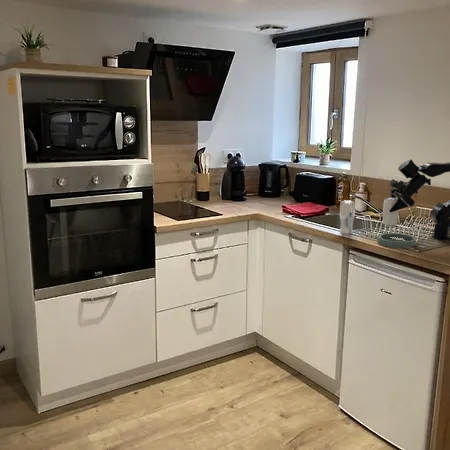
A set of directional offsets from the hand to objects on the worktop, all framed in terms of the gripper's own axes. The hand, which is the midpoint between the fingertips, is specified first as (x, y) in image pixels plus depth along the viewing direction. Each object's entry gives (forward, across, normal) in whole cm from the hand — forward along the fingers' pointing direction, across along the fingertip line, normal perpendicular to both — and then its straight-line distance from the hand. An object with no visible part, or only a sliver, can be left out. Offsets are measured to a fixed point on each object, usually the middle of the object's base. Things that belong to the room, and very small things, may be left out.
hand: (387, 210), depth 227 cm
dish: (+8, +8, +11) cm, 15 cm away
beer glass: (+20, -12, -2) cm, 24 cm away
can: (+4, 0, +6) cm, 7 cm away
